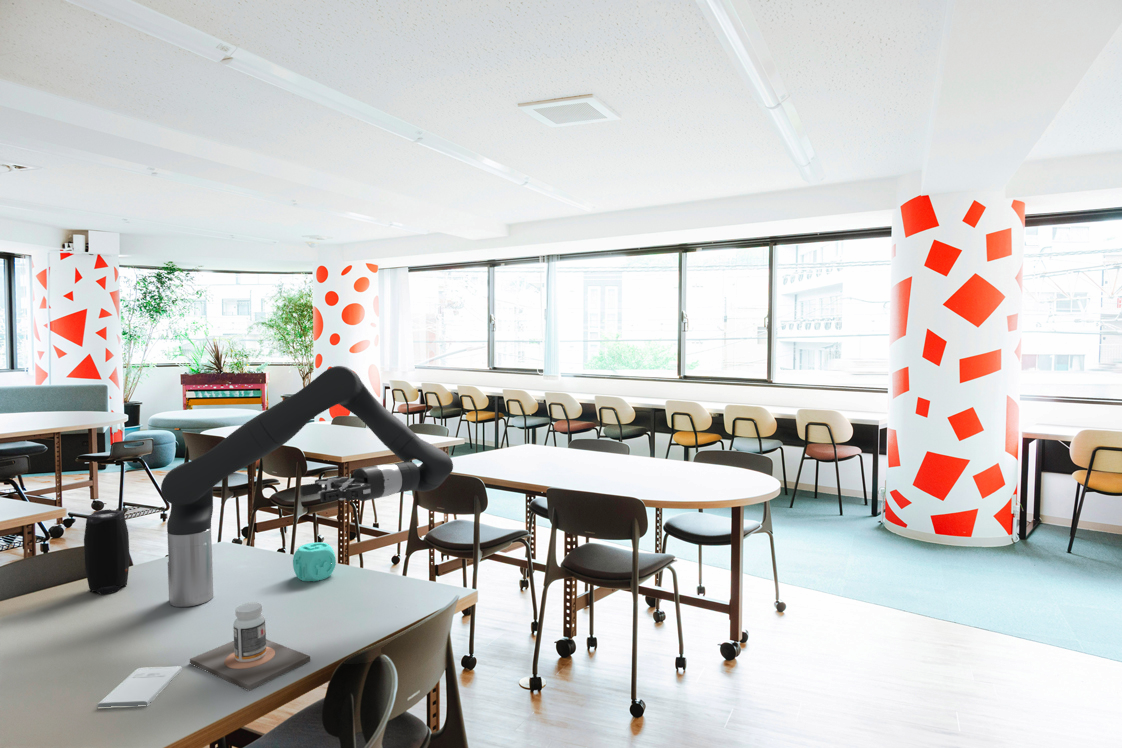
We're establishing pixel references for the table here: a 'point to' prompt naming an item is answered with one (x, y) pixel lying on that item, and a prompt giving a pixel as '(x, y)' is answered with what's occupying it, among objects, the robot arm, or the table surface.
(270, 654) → the dark grey flat slab
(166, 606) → the table surface
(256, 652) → the pill bottle
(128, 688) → the external hard drive
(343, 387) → the robot arm
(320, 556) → the decorative dice
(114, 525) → the portable speaker
